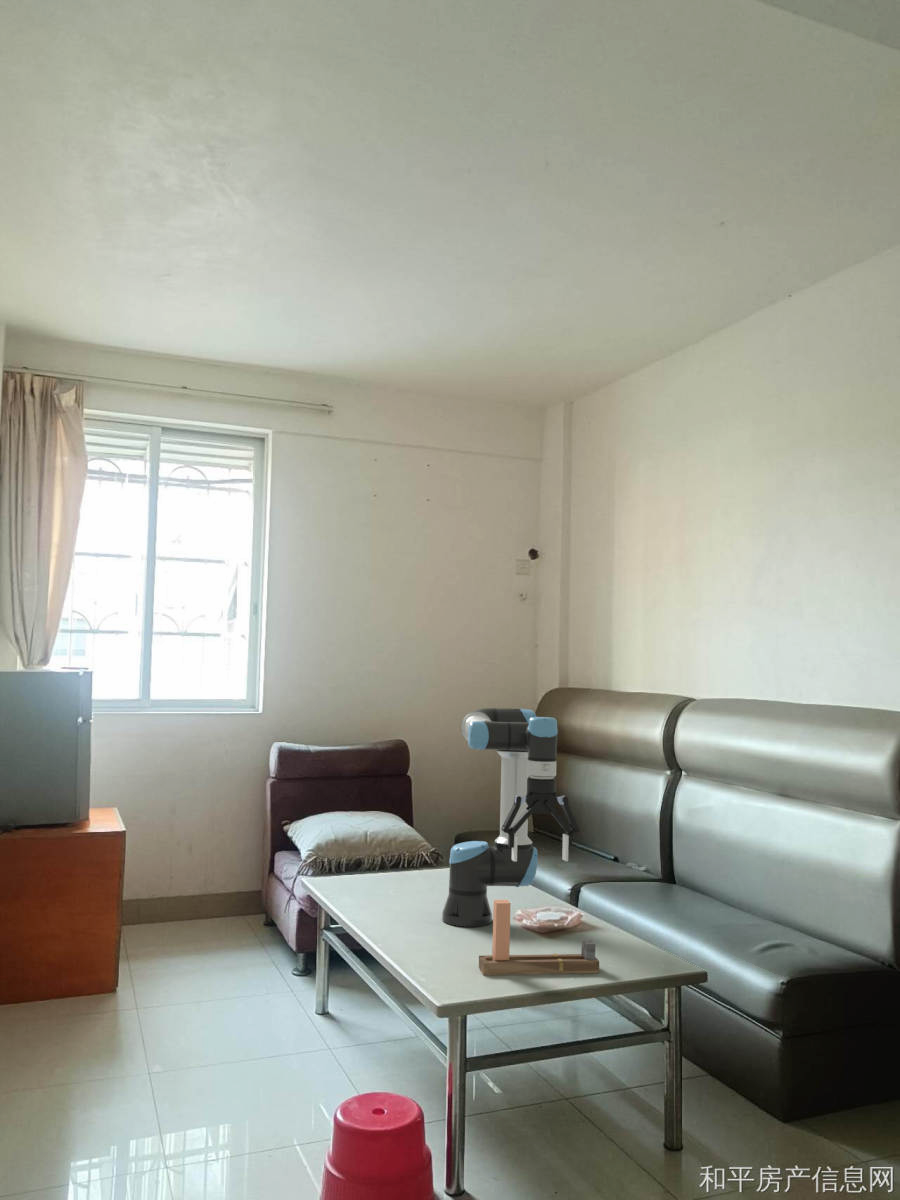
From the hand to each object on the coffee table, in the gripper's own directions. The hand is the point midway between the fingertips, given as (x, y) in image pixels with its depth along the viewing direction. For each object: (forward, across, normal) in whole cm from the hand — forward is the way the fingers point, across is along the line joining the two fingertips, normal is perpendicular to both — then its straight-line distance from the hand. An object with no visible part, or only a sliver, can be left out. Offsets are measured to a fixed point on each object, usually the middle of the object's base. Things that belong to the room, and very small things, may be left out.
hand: (539, 860), depth 238 cm
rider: (+27, -10, 0) cm, 29 cm away
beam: (+27, 0, -1) cm, 27 cm away
